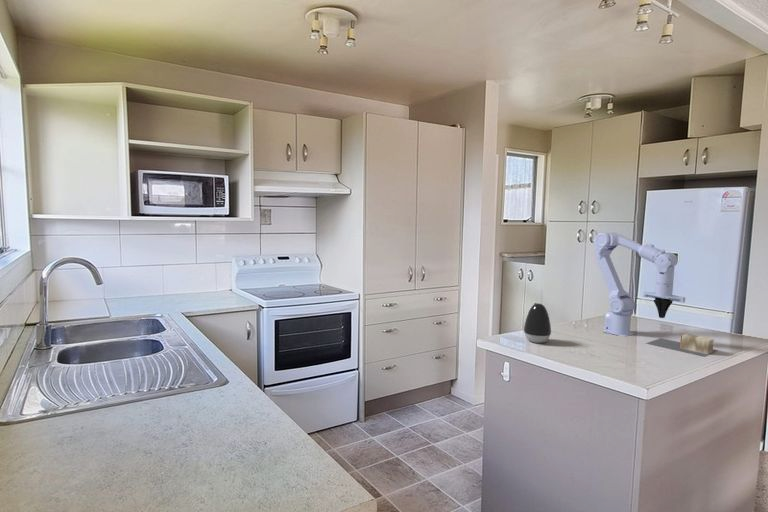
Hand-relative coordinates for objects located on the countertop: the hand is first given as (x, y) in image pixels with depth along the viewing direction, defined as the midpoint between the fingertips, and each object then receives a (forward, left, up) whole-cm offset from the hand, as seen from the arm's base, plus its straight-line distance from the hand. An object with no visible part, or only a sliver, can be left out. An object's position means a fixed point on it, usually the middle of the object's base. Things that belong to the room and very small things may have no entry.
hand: (661, 317), depth 178 cm
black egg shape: (-29, -40, -11) cm, 51 cm away
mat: (+8, 0, -10) cm, 13 cm away
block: (+8, 0, -8) cm, 11 cm away
